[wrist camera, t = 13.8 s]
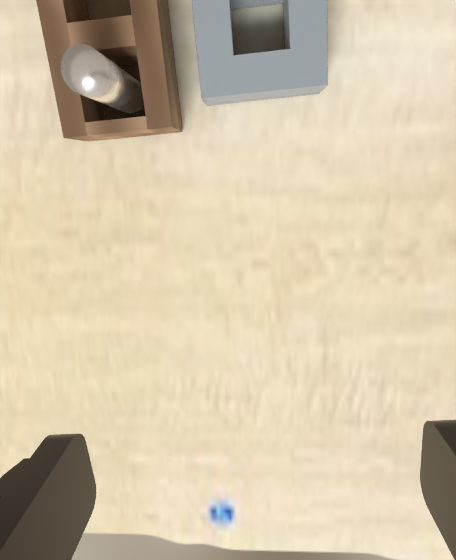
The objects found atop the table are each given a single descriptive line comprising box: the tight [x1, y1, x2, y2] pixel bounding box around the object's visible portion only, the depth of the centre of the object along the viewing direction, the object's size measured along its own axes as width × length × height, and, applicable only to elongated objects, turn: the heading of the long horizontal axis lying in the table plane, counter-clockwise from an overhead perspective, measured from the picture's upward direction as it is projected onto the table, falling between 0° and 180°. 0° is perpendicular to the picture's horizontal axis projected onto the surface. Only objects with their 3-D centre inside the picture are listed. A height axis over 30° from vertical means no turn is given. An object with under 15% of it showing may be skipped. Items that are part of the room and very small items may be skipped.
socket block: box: [192, 0, 328, 106], centre depth 31 cm, size 10×10×4 cm
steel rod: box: [61, 44, 144, 113], centre depth 30 cm, size 3×3×10 cm
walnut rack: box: [36, 0, 182, 141], centre depth 31 cm, size 9×14×5 cm, turn 5°
